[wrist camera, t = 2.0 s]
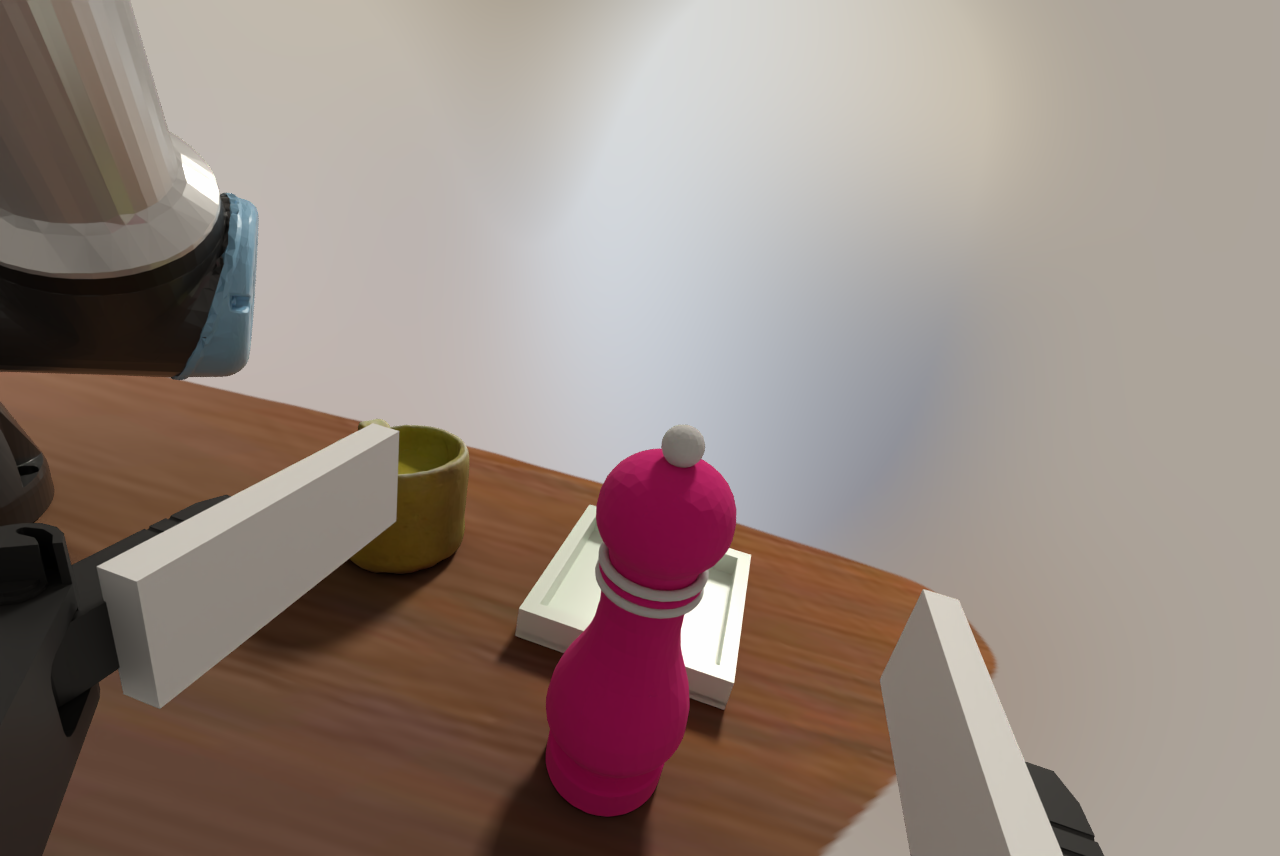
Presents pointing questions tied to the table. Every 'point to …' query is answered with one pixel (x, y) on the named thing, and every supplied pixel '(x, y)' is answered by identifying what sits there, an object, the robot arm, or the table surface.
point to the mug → (422, 502)
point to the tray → (707, 630)
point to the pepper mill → (637, 626)
